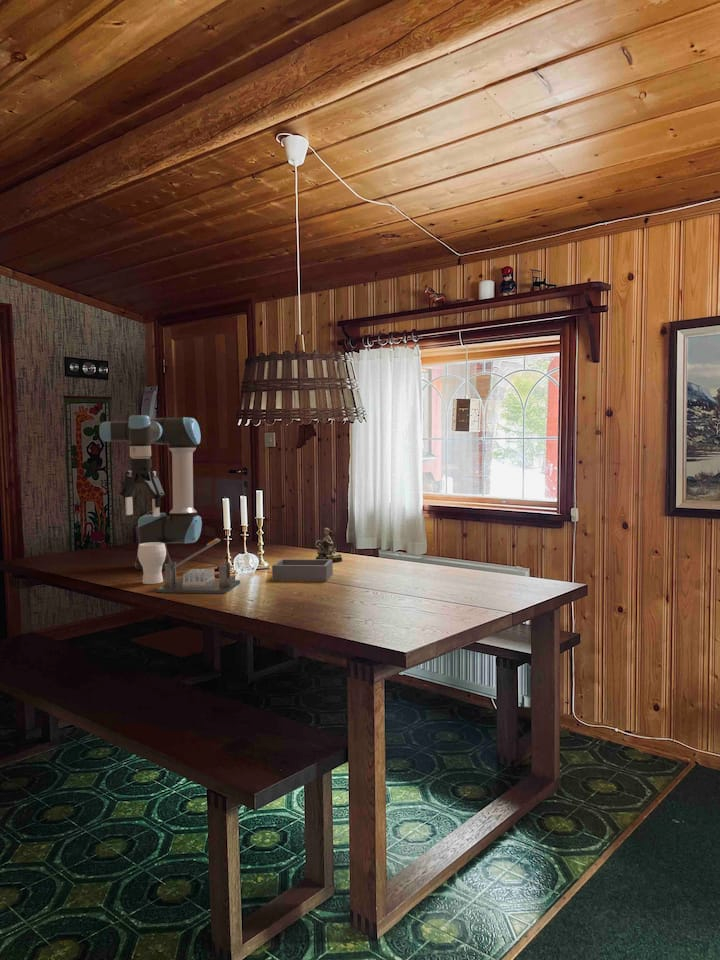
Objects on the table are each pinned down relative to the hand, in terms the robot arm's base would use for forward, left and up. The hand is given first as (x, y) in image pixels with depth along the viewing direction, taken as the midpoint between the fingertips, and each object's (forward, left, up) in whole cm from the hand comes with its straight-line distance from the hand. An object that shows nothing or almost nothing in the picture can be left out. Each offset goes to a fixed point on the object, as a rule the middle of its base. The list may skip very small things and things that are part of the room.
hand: (142, 515), depth 267 cm
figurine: (-65, +58, -28) cm, 91 cm away
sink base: (-6, +19, -28) cm, 34 cm away
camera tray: (-28, +54, -28) cm, 67 cm away
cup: (-15, -3, -28) cm, 32 cm away
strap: (-6, +17, -16) cm, 24 cm away
